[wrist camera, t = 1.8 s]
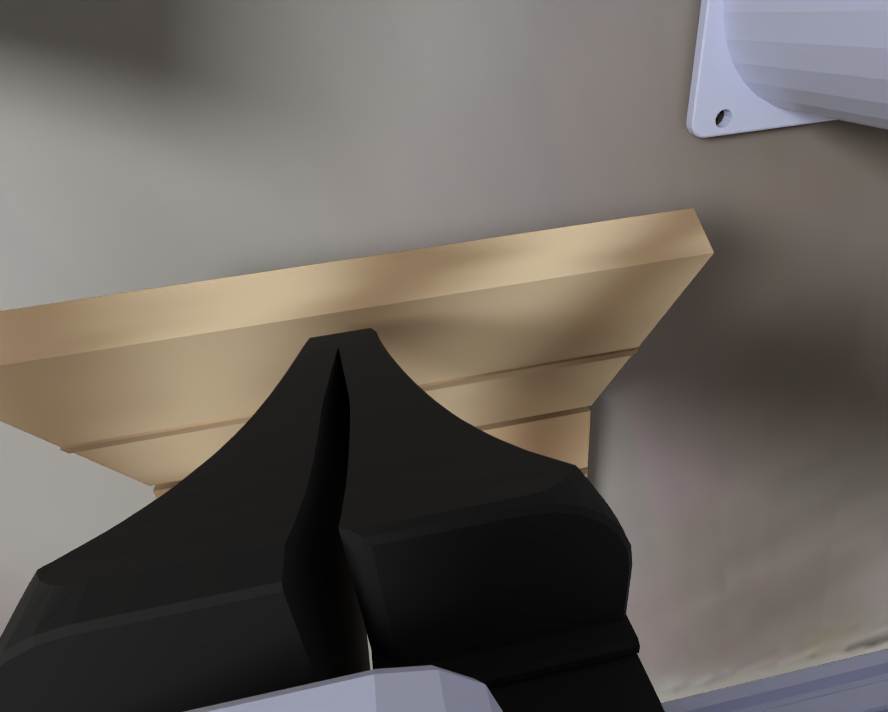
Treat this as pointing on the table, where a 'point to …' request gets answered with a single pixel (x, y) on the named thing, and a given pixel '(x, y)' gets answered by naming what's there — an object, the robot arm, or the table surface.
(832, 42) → the robot arm
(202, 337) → the slatted wooden panel
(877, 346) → the table surface
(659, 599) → the table surface
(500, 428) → the laid floor strip
